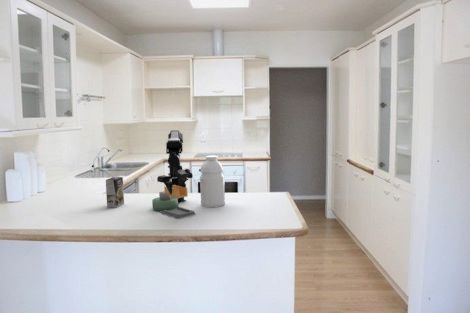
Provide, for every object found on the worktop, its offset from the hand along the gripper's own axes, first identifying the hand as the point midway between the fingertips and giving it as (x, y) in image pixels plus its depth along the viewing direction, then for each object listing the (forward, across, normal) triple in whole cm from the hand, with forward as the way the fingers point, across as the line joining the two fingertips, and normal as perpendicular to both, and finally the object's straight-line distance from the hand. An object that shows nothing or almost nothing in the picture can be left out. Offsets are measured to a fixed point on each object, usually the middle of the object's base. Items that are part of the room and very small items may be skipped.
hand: (175, 193), depth 203 cm
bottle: (+11, +25, 0) cm, 28 cm away
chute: (+1, 0, 0) cm, 1 cm away
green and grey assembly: (+11, +2, +6) cm, 13 cm away
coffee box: (+11, -14, +41) cm, 45 cm away
